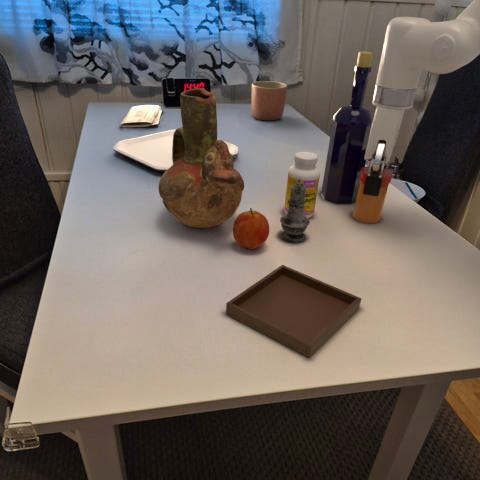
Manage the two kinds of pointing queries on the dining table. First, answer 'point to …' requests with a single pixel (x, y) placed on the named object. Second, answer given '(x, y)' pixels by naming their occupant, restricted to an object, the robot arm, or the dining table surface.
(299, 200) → the grey carved figurine
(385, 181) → the jar lid
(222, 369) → the dining table surface
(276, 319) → the tray
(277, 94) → the planter
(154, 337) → the dining table surface
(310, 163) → the supplement bottle
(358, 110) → the bottle
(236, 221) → the fruit
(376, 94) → the robot arm
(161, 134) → the plate
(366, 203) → the jar
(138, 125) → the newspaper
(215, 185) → the ceramic vessel
